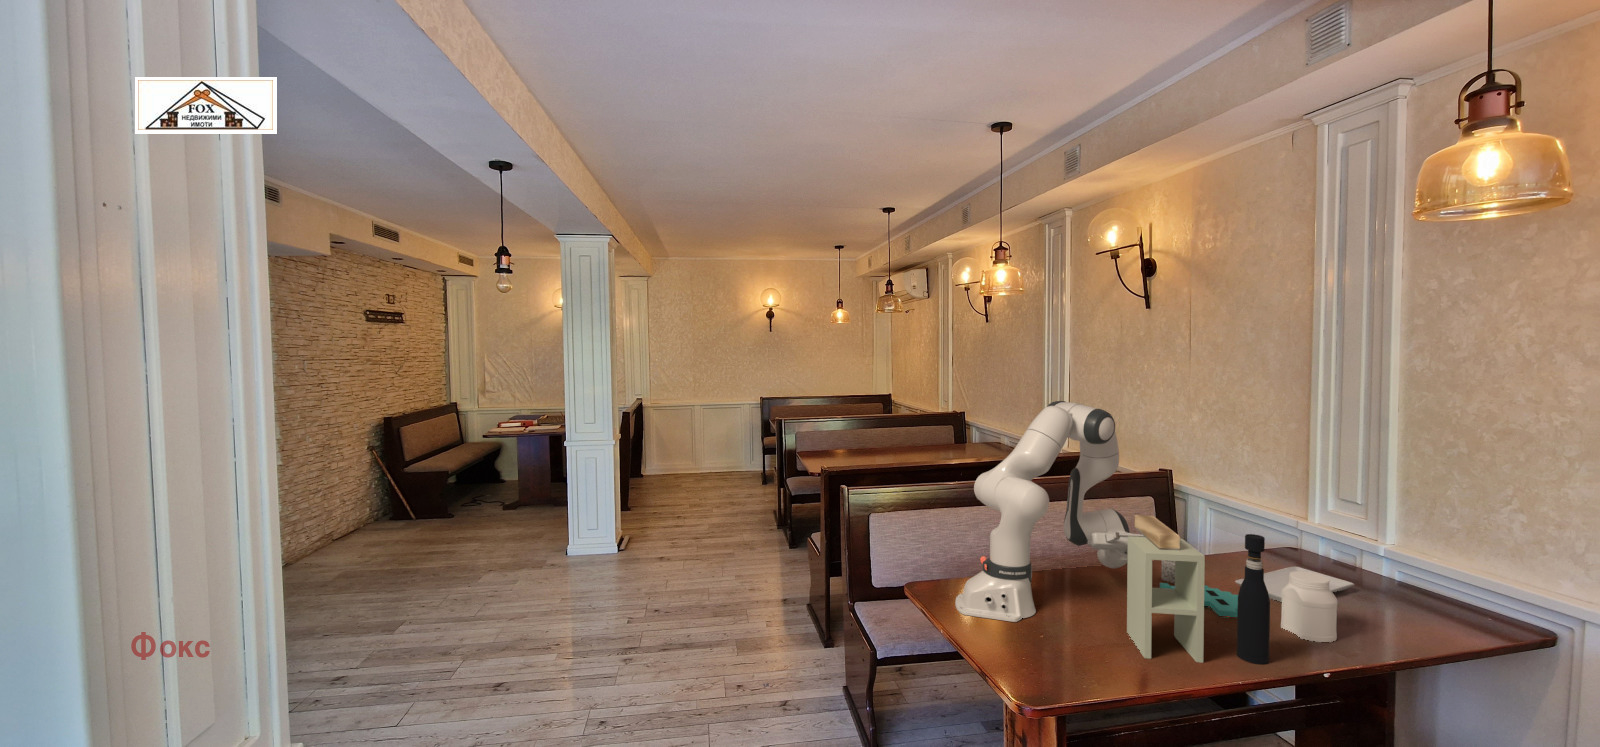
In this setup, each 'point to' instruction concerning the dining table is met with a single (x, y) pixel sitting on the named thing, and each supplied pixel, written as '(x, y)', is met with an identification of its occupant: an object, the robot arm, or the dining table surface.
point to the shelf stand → (1166, 595)
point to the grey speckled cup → (1168, 571)
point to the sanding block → (1157, 532)
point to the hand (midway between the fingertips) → (1134, 535)
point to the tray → (1281, 578)
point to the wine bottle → (1253, 607)
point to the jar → (1309, 607)
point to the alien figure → (1217, 600)
